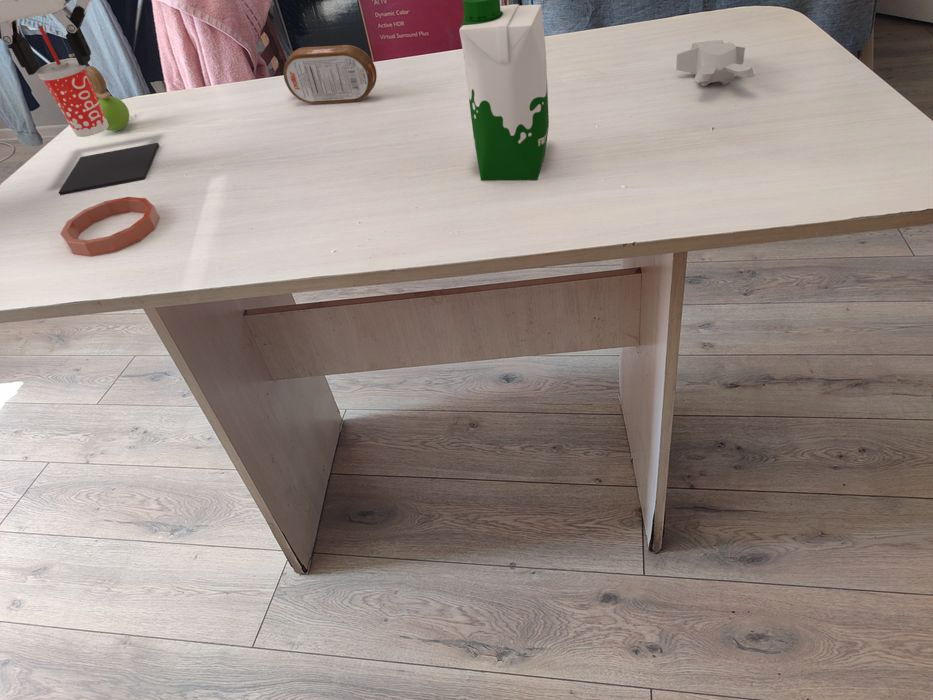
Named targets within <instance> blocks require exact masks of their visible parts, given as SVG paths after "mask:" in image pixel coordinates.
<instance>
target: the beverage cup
mask: <svg viewBox="0 0 933 700" xmlns="http://www.w3.org/2000/svg"><path fill="white" fill-rule="evenodd" d="M37 28H38V29H39V32H40V34H41V36H42V37H43V40H44V42H45V44H46V45H47V47H48V49H49V51H50V53H51V55H52V57H53V60H54V61H53V62H50V63H46V64H44V65H43V66H40V68H39V69H38V70H37V71H36V73H35V74H36V75H37V76H38V78H39V80H41V81H43V83H44V85H45V86H46V87H47V89H48V91H49V92H50V94H51V96H52V98H53V99H54V101H55V103H56V105H57V107H58V108H59V109H60V111H61V113H62V114H63V116H64V118H65V120H66V122H67V123H68V125H69V126H70V128H71V130H72V131H73V133H74V134H75V136H76V137H80V138H86V137H91V136H94V135H98V134H100V133H102V132H104V131H106V129H107V128H108V126H109V125H108V122H107V120H106V117H105V115H104V113H103V110H102V108H101V105H100V103H99V101H98V99H99V98H98V97H97V96H96V93H95V91H94V88H93V86H92V84H91V81H90V79H89V76H88V74H87V72H86V69H85V68H86V67H87V64H86V65H83V66H81V65H79V63H78V61H77V59H76V57H72V58H70V57H69V58H65V59H64V58H63V59H59V56H58V55H57V53H56V51H55V49H54V47H53V45H52V43H51V41H50V39H49V37H48V35H47V33H46V31H45V30H44V27H43V26H42V25H38V26H37Z"/></svg>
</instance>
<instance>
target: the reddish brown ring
mask: <svg viewBox="0 0 933 700" xmlns="http://www.w3.org/2000/svg"><path fill="white" fill-rule="evenodd" d="M128 213H129V214H130V213H137V214H143V216H142V217H141V218H140V219H138V220H137V221H136V222H134V223H133V224H132V225H131V226H129V227H126V228H124V229H122V230H120V231H117V232H115V233H113V234H111V235H107V236H102V237H97V238H91V239H81V238H79V236H80V234H82V233H83V232H85V230H87V229H88V228H90V227H91V226H93V225H94V224H96V223H98V222H101V221H103V220H105V219H108V218H110V217H113V216H118V215H123V214H128ZM159 220H160V216H159V214H158V212H157V210H156V207H155V205H154V204H153V203H151V201H150V200H148V198H146V197H137V196H125V197H119V198H114V199H110V200H105V201H102V202H100V203H97V204H95V205H92V206H90V207H87V208H85V209H83V210H81V211H80V212H79V213H77V214H76V215H74V216H73V217H71V218H70V219H68V220H67V221H66V222H65V224H64V226H63V228H61V231H60V233H59V234H60V237H61V238H62V240H63V241H64V243H65V245H66V246H67V248H68V249H69V250H70V251H71V253H72V255H75V256H83V257H91V258H92V257H97V256H103V255H108V254H112V253H113V254H114V253H116V252H120V251H121V250H124V249H127V248H129V247H130V246H133V245H135V244H137V243H140V242H141V241H143V240H144V239H145V238H146V237H147V236H149V235H150V234H151V233H152V232H153V231H155V230H156V228H157V227H158V226H157V225H158V223H159Z"/></svg>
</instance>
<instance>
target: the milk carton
mask: <svg viewBox="0 0 933 700" xmlns="http://www.w3.org/2000/svg"><path fill="white" fill-rule="evenodd" d="M542 7H543V6H542V4H541V3H540V4H538V3H537V4H523V5H520V4H519V3H515V4H508V5H501V1H500V0H462V9H463V18H462V23H461V25H460V28H459V31H458V32H459V36H460V43H461V49H462V54H463V60H464V67H465V68H464V70H465V77H466V86H467V87H466V88H467V92H468V93H467V95H468V103H469V111H470V119H471V127H472V134H473V142H474V149H475V153H476V159H477V160H476V161H477V166H478V171H479V176H480V181H482V182H483V181H484V182H485V181H487V182H489V181H490V182H491V181H493V182H495V181H538V180H539V177H540V173H541V171H542V166H543V164H544V160H545V157H546V152H547V142H548V134H549V126H550V118H549V117H550V116H549V93H548V92H549V89H548V70H547V68H548V67H547V48H546V47H547V46H546V38H545V30H544V29H545V28H544V20H543V18H544V17H543V9H542Z"/></svg>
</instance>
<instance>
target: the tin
mask: <svg viewBox="0 0 933 700" xmlns="http://www.w3.org/2000/svg"><path fill="white" fill-rule="evenodd" d="M282 75H283V79H284V82H285V85H286V87H287V89H288V90H289V92H290V93H291V94H292V95H293V96H294V97H295V98H296V99H298V100H299V101H301V102H302V103H307V104H312V105H318V104H339V103H341V104H343V103H356V102H361V101H362V100H364V99H366V98H367V97H368V96H369V95H370V93H371V92H372V91H373V89H374V88H375V87H376V82H377V78H378V75H377V68H376V65H375V62H374V61H373V60H372V57H370V56H369V54H368V53H367V52H365V50H363V49H361V48H359V47H357V46H354V45H350V44H342V45H325V46H305V47H300V48H297V49H295V50H294V51H292V52H291V54H290V55H289V57H288V58H287V60H286V61H285V63H284V66H283V69H282Z"/></svg>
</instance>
